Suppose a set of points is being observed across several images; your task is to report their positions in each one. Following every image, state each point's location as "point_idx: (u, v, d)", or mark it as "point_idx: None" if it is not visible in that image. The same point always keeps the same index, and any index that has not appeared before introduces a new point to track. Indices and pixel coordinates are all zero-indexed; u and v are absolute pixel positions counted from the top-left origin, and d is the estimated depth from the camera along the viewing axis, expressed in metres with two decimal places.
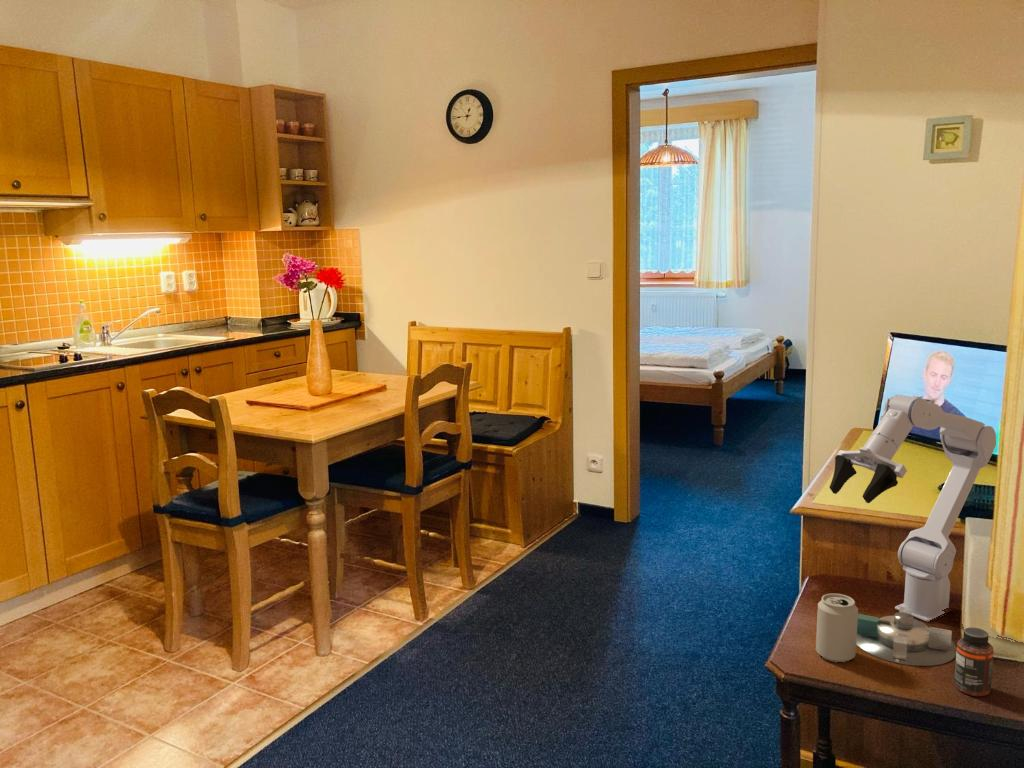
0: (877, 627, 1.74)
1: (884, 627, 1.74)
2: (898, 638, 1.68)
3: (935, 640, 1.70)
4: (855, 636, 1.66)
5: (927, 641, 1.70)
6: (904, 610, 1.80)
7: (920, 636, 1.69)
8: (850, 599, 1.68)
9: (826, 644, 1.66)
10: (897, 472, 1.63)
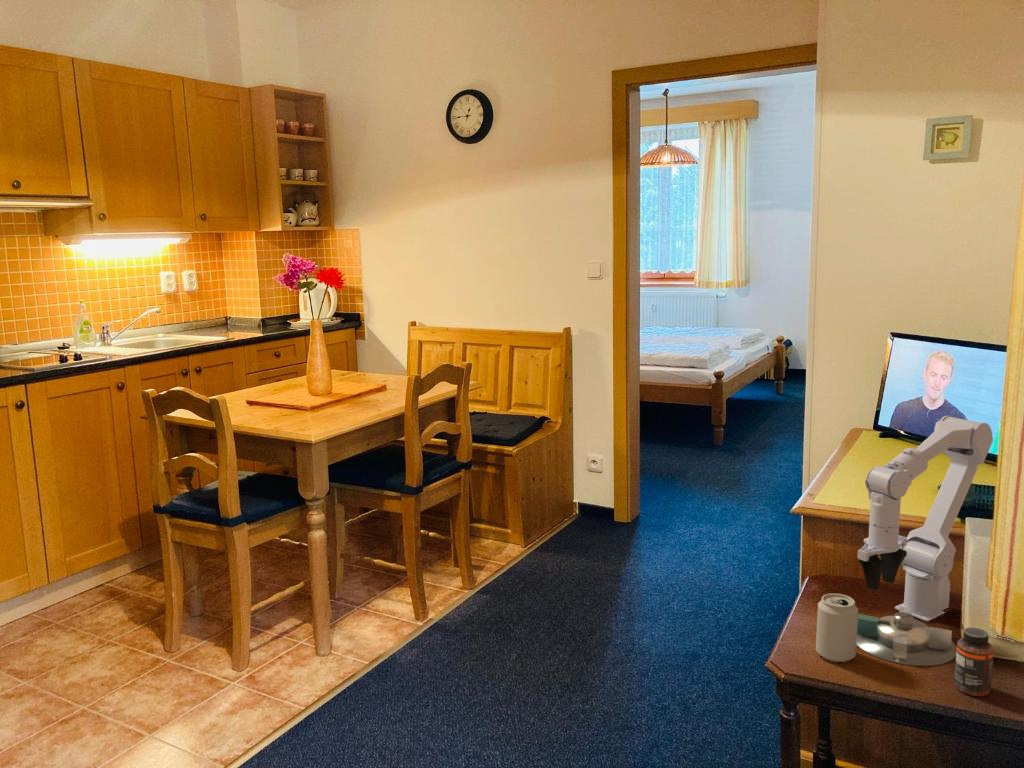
0: (877, 627, 1.74)
1: (884, 627, 1.74)
2: (898, 638, 1.68)
3: (935, 640, 1.70)
4: (855, 636, 1.66)
5: (927, 641, 1.70)
6: (904, 610, 1.80)
7: (920, 636, 1.69)
8: (850, 599, 1.68)
9: (826, 644, 1.66)
10: None
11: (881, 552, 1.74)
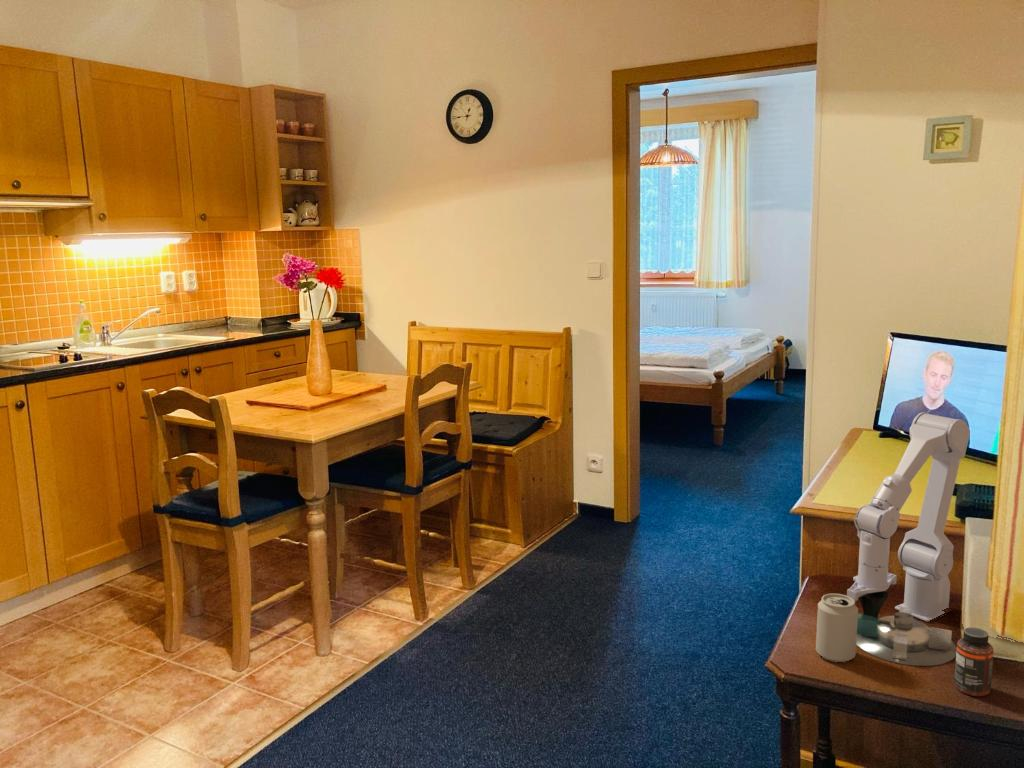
0: (877, 627, 1.74)
1: (884, 627, 1.74)
2: (898, 638, 1.68)
3: (935, 640, 1.70)
4: (855, 636, 1.66)
5: (927, 641, 1.70)
6: (904, 610, 1.80)
7: (920, 636, 1.69)
8: (850, 599, 1.68)
9: (826, 644, 1.66)
10: None
11: (870, 591, 1.74)
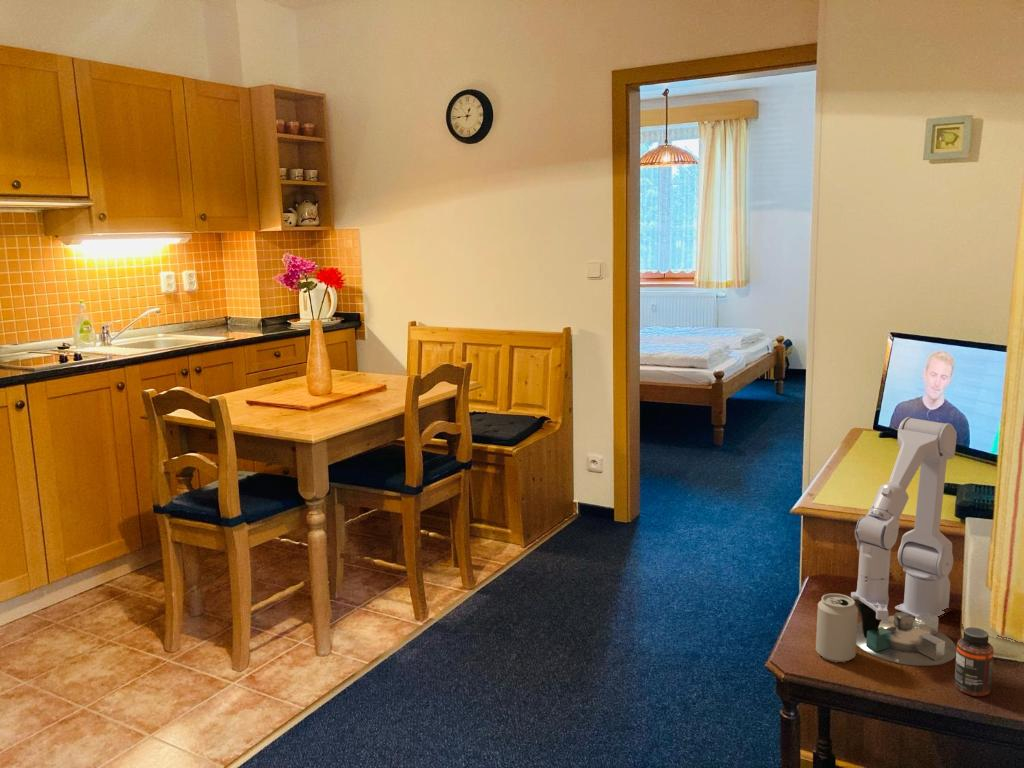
0: (894, 636, 1.70)
1: (898, 633, 1.71)
2: (931, 639, 1.67)
3: (928, 628, 1.75)
4: (855, 636, 1.66)
5: None
6: None
7: (927, 629, 1.72)
8: (850, 599, 1.68)
9: (826, 644, 1.66)
10: None
11: (887, 605, 1.68)
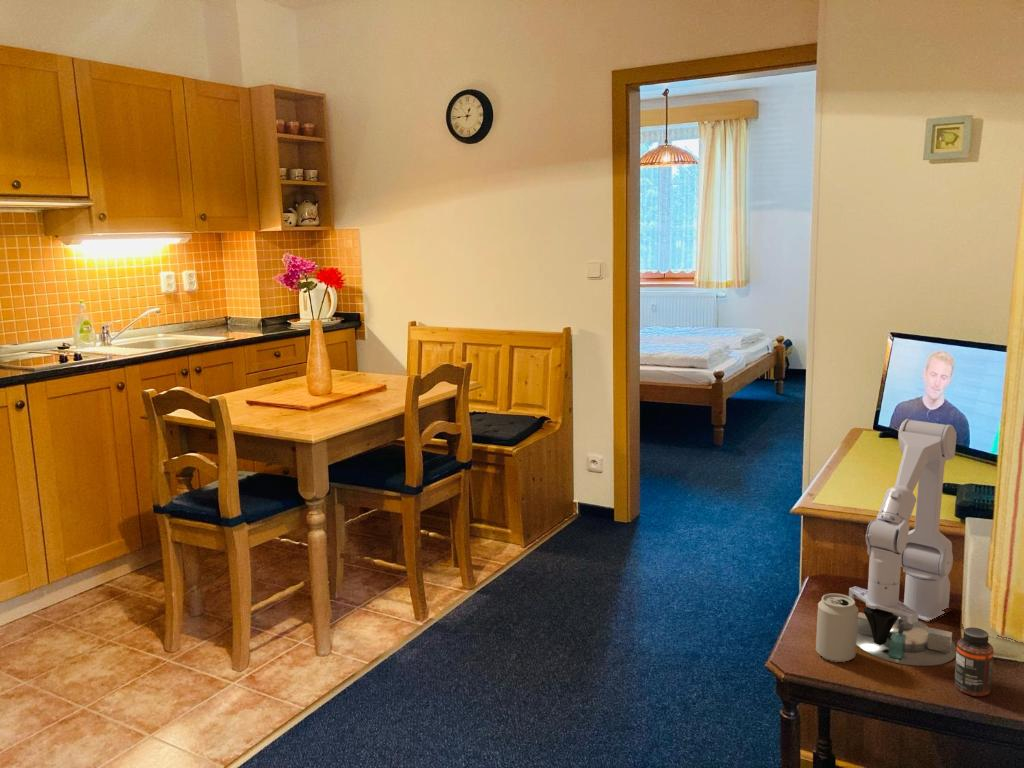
0: (909, 639, 1.69)
1: (910, 635, 1.70)
2: (941, 633, 1.69)
3: None
4: (855, 636, 1.66)
5: None
6: None
7: (922, 623, 1.75)
8: (850, 599, 1.68)
9: (826, 644, 1.66)
10: None
11: None
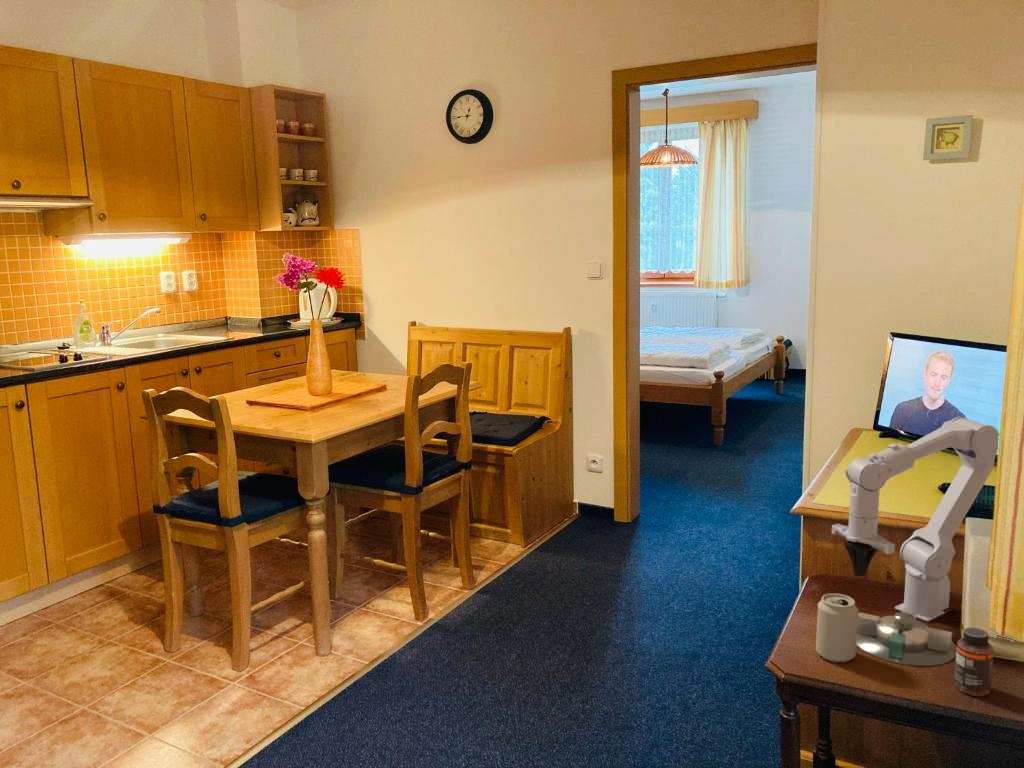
0: (909, 639, 1.69)
1: (910, 635, 1.70)
2: (941, 633, 1.69)
3: None
4: (855, 636, 1.66)
5: None
6: (866, 616, 1.77)
7: (922, 623, 1.75)
8: (850, 599, 1.68)
9: (826, 644, 1.66)
10: None
11: None
